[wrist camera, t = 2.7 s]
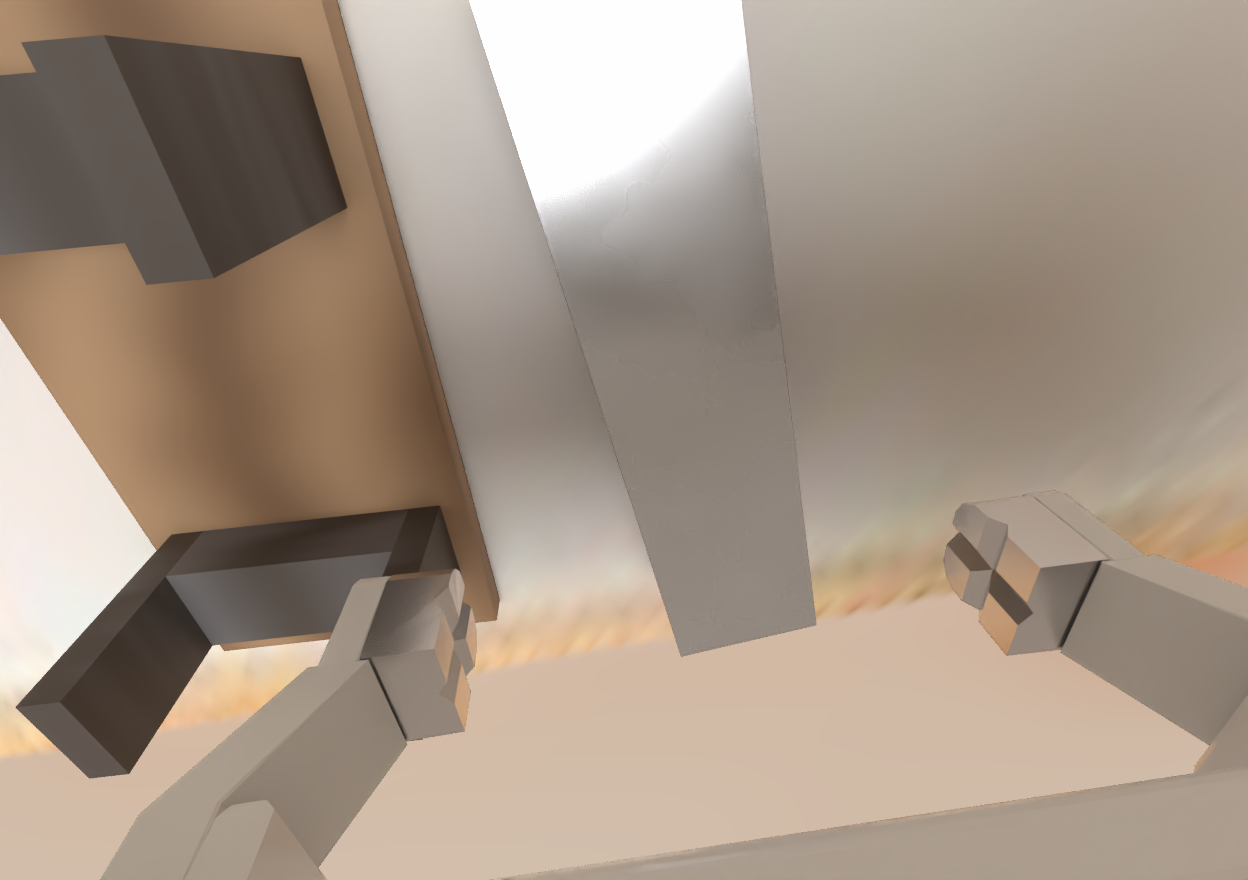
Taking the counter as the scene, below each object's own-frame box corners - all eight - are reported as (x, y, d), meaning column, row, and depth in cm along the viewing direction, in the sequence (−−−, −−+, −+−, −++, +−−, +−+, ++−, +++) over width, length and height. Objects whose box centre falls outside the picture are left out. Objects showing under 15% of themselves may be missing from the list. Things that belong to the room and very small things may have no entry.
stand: (312, -91, 12) (42, -275, 6) (499, 600, 22) (472, 787, 16) (-192, -49, 12) (-1014, -195, 6) (237, 629, 22) (113, 830, 16)
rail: (489, -8, 13) (454, -47, 9) (679, -70, 13) (724, -137, 9) (662, 561, 22) (681, 656, 18) (775, 533, 22) (816, 625, 18)
